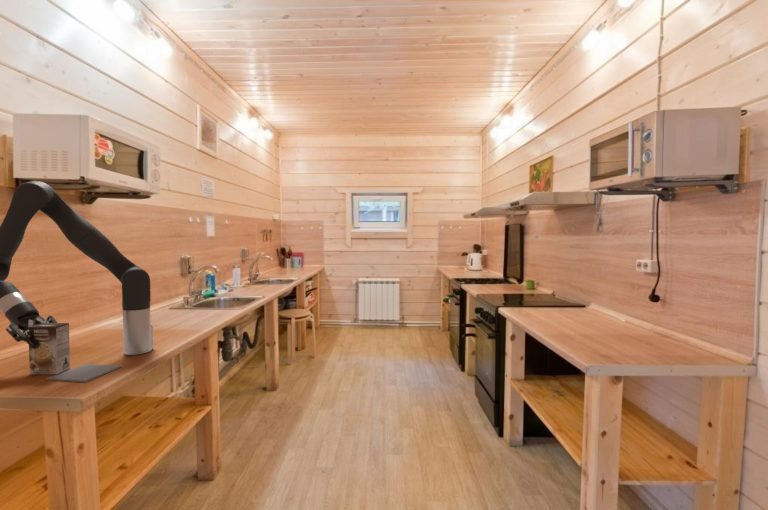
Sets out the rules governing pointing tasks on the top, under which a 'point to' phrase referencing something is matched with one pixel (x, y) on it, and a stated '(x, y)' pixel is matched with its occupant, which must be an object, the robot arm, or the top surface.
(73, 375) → the mat
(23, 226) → the robot arm
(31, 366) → the coffee box
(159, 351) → the top surface
